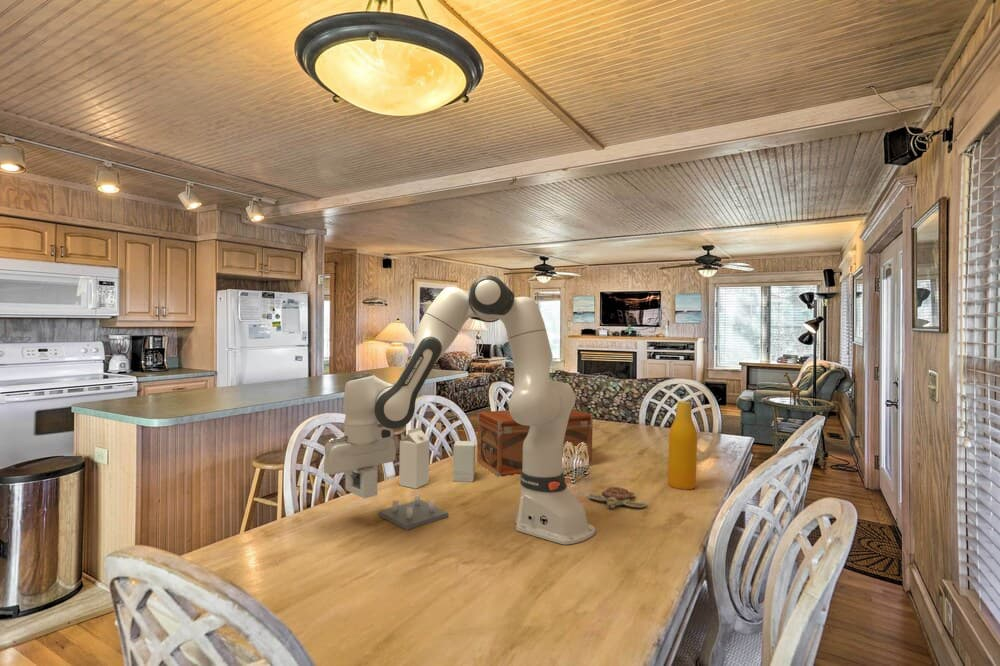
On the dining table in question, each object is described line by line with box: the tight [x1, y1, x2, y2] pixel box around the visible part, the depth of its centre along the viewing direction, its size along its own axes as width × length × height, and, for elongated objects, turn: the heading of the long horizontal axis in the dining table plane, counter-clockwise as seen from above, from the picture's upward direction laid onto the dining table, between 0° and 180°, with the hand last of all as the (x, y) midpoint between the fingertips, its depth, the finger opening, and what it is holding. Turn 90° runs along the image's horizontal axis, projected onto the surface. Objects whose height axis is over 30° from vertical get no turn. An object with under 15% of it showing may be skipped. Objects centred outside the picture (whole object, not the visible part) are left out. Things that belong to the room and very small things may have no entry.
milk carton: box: [398, 426, 430, 489], centre depth 173 cm, size 7×7×19 cm
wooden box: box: [476, 408, 594, 478], centre depth 201 cm, size 20×41×20 cm, turn 114°
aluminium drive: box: [345, 467, 378, 499], centre depth 141 cm, size 10×4×7 cm, turn 45°
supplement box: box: [452, 440, 476, 483], centre depth 181 cm, size 7×7×13 cm
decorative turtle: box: [587, 486, 647, 509], centre depth 160 cm, size 18×17×5 cm
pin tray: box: [378, 493, 449, 531], centre depth 146 cm, size 14×14×4 cm
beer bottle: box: [667, 400, 698, 490], centre depth 177 cm, size 9×9×29 cm
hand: (361, 483), depth 141 cm, fingers closed on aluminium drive, 4 cm apart
